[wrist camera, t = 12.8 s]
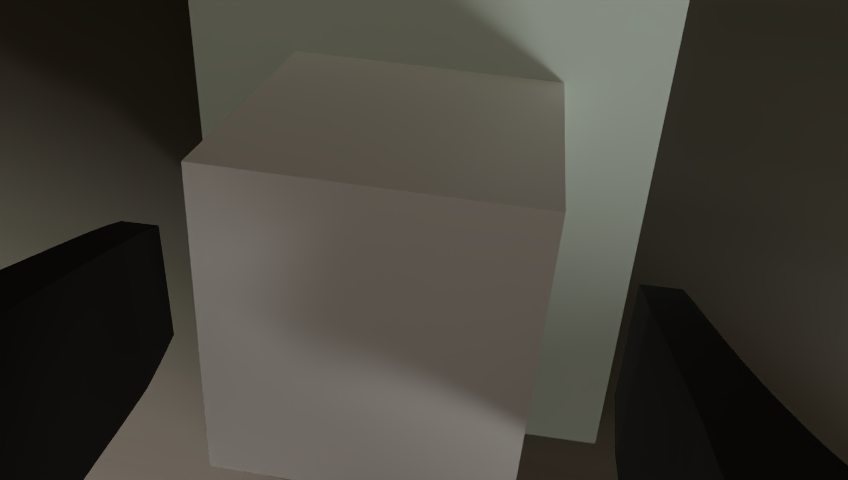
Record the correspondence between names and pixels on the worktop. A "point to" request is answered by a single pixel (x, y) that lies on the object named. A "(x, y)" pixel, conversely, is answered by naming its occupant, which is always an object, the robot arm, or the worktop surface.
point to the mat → (518, 57)
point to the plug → (375, 269)
